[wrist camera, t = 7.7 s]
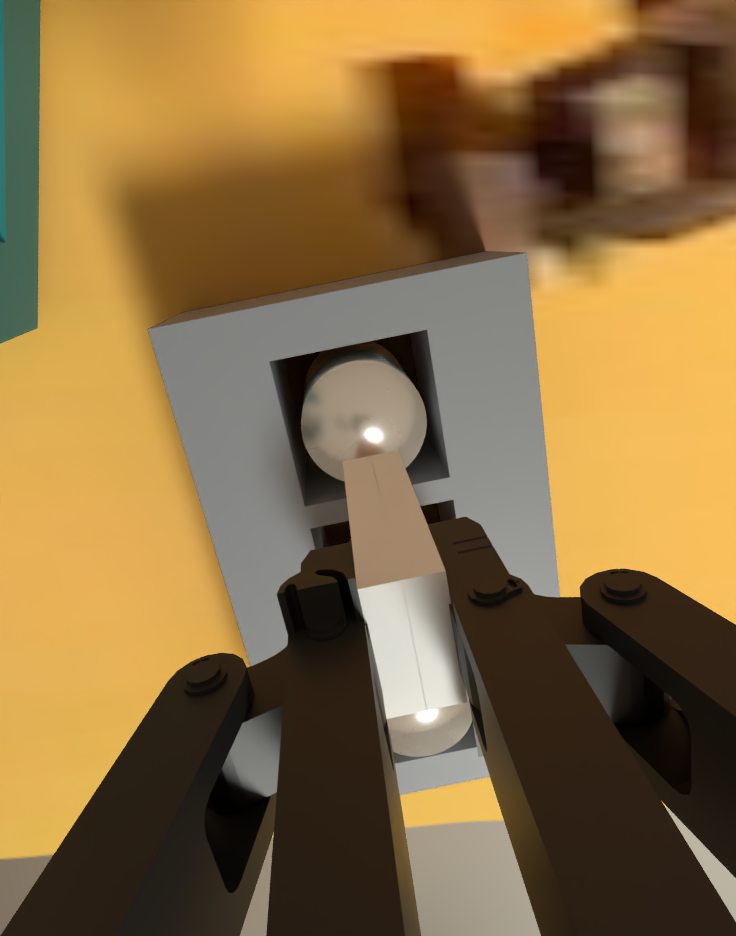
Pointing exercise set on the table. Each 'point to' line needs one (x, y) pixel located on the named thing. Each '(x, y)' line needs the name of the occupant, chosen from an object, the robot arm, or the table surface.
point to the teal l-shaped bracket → (19, 165)
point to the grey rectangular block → (324, 497)
